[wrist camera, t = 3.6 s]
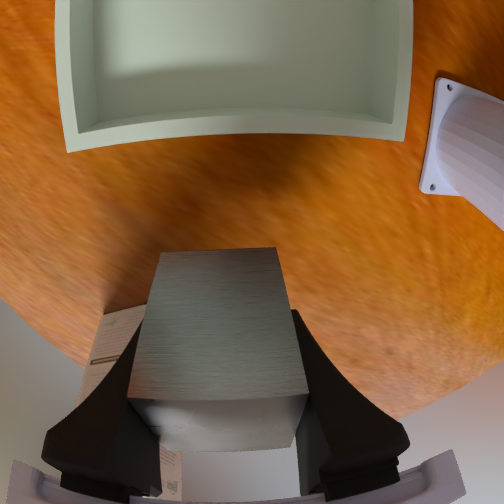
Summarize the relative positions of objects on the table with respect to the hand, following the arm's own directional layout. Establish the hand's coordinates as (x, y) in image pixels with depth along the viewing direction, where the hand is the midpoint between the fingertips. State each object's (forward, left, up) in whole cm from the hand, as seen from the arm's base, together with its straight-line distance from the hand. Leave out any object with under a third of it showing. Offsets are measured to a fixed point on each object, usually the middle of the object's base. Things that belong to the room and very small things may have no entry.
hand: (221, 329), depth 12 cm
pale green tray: (-1, -17, -8) cm, 19 cm away
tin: (0, 0, -2) cm, 2 cm away
